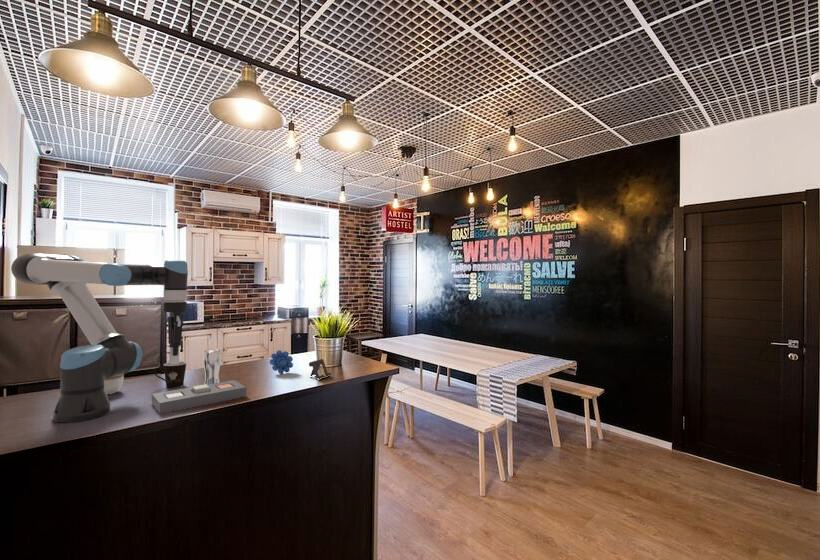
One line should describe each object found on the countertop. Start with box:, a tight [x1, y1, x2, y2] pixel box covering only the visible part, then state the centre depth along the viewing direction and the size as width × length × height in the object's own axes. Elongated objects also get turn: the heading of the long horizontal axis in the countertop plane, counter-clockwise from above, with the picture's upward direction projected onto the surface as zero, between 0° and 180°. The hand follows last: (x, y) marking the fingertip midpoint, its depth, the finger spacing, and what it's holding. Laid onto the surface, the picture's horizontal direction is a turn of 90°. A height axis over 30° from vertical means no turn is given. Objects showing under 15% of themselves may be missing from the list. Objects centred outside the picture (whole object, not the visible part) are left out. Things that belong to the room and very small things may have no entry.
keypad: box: [151, 379, 247, 415], centre depth 150 cm, size 30×14×4 cm, turn 134°
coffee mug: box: [153, 361, 187, 389], centre depth 168 cm, size 12×9×10 cm
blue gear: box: [269, 349, 294, 374], centre depth 192 cm, size 12×7×12 cm, turn 121°
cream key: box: [165, 392, 184, 398], centre depth 143 cm, size 5×5×3 cm
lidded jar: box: [104, 374, 125, 396], centre depth 157 cm, size 11×11×9 cm
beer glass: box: [203, 349, 222, 385], centre depth 173 cm, size 7×7×15 cm
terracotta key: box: [217, 384, 234, 389], centre depth 156 cm, size 5×5×3 cm
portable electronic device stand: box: [308, 358, 332, 379], centre depth 186 cm, size 9×8×8 cm
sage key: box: [191, 384, 210, 394], centre depth 150 cm, size 5×5×3 cm
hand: (174, 363), depth 143 cm, fingers closed
